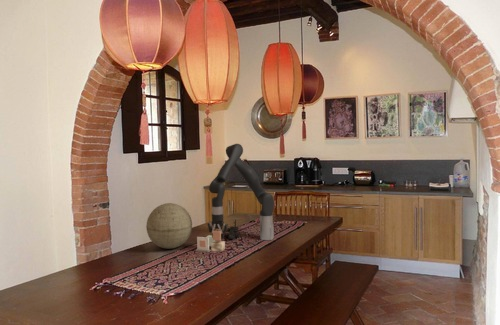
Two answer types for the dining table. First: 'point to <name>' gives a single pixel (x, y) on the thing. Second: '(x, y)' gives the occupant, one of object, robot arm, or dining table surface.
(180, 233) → the celestial globe
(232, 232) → the helicopter
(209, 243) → the sage block
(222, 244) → the beech base block
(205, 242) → the board
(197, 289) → the dining table surface
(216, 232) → the terracotta block
